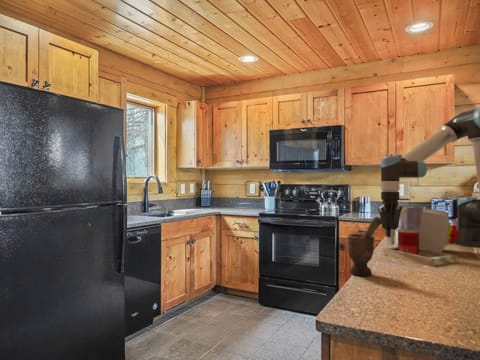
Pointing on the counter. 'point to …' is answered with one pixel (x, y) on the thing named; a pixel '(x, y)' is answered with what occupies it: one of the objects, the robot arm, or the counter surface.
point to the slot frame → (422, 256)
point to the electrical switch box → (436, 230)
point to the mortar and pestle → (362, 249)
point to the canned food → (408, 241)
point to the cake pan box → (411, 217)
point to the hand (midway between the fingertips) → (390, 244)
